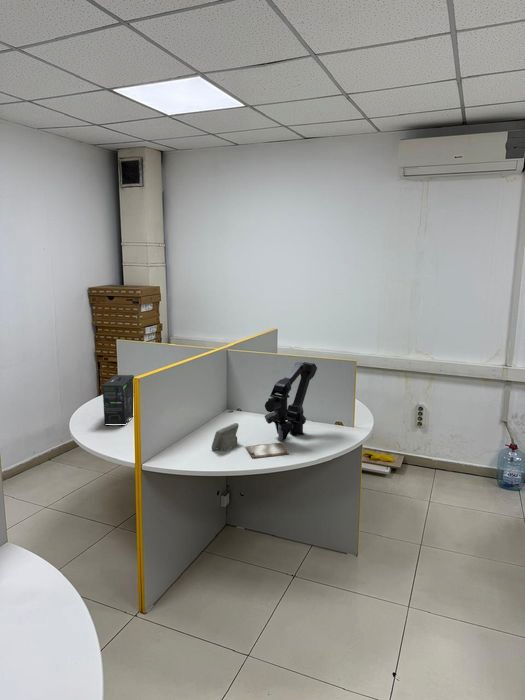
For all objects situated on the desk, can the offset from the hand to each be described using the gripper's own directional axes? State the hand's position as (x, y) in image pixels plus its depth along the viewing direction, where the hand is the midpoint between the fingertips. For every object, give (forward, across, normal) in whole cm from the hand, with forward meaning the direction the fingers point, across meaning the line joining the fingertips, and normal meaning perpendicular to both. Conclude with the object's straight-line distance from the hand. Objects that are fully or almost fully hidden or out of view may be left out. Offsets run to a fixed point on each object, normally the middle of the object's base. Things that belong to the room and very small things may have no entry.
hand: (281, 436), depth 246 cm
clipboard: (+2, +11, -11) cm, 16 cm away
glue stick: (+2, 0, 0) cm, 2 cm away
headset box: (+2, -56, -79) cm, 97 cm away
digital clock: (+2, 0, -29) cm, 29 cm away
